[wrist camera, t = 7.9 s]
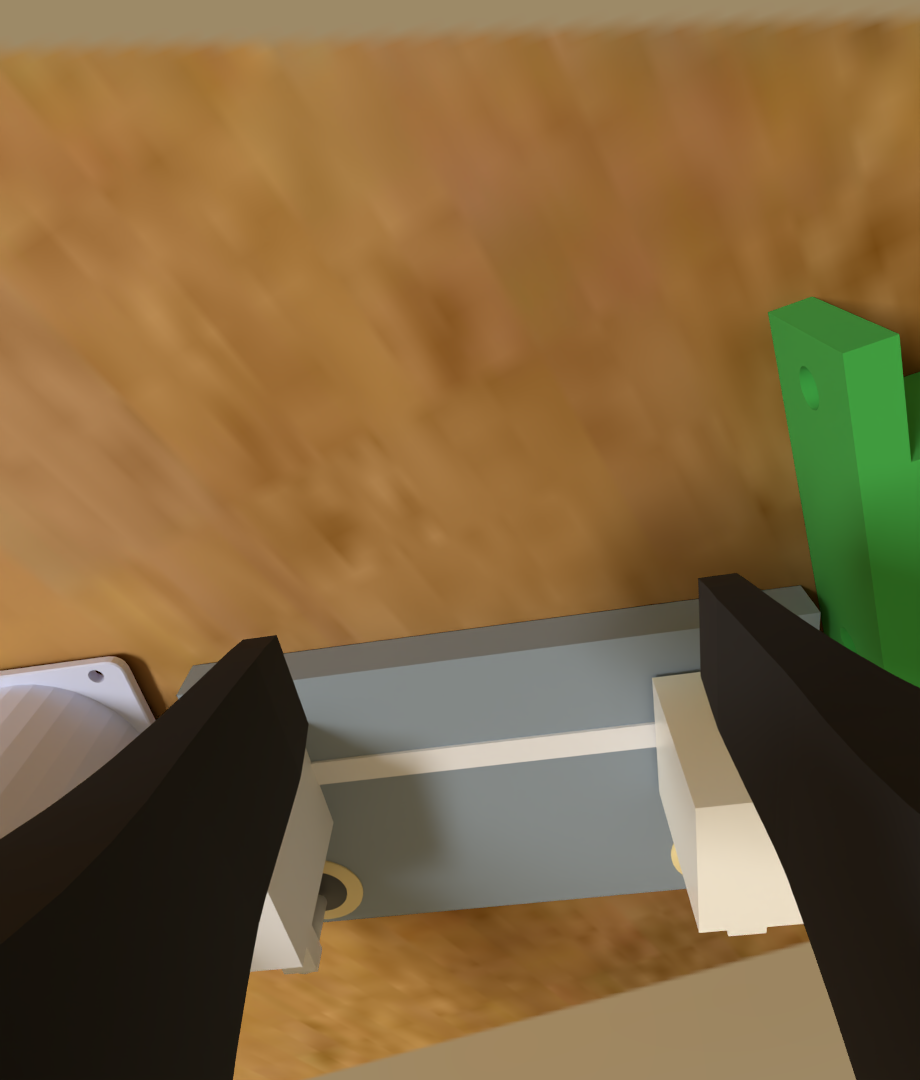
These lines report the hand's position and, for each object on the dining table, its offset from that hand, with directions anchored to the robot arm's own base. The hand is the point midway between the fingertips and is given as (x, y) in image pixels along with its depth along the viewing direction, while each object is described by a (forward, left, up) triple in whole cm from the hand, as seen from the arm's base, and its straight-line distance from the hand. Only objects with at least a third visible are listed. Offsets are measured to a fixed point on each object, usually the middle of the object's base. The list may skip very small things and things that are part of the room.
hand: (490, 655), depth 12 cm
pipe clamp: (+11, -3, -10) cm, 15 cm away
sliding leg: (+6, -12, -8) cm, 15 cm away
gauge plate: (-1, -12, -9) cm, 15 cm away
